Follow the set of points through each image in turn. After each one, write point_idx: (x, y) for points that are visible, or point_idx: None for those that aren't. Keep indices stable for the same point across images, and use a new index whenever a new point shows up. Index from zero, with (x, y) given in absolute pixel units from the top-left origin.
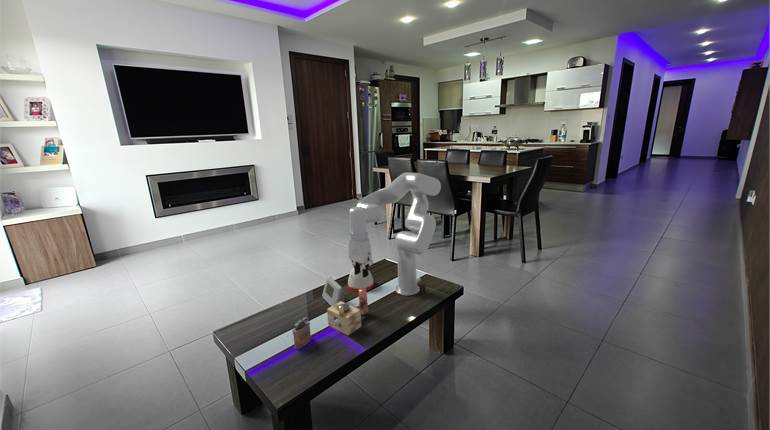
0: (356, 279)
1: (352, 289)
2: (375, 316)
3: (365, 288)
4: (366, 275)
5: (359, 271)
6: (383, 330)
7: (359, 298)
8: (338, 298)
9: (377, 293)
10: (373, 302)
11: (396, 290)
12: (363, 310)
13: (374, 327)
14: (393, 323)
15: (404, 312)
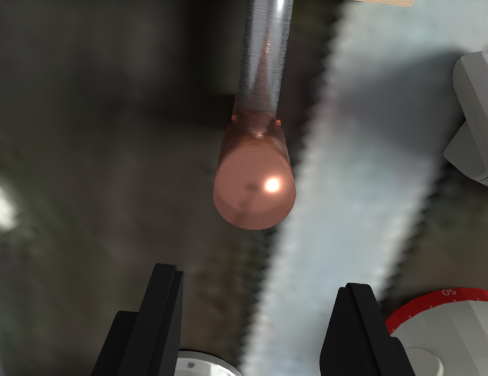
0: (476, 357)
1: (471, 292)
2: (171, 125)
3: (243, 226)
4: (121, 313)
5: (328, 368)
6: (22, 18)
7: (269, 131)
8: (483, 98)
9: (310, 317)
10: (276, 239)
11: (222, 368)
12: (236, 104)
13: (92, 16)
14: (31, 115)
15: (63, 233)
